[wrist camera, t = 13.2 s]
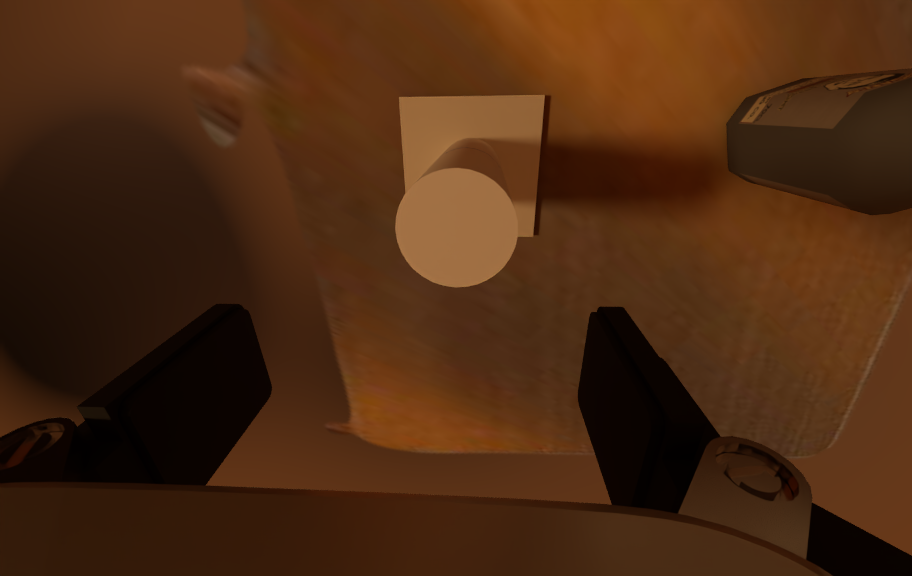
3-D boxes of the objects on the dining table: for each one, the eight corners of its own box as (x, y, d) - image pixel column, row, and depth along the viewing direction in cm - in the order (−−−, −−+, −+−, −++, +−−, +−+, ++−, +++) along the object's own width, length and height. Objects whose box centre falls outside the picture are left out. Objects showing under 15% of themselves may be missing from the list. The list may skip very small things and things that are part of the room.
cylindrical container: (480, 124, 42) (477, 140, 19) (510, 180, 44) (539, 251, 22) (428, 159, 44) (370, 211, 21) (460, 211, 46) (438, 305, 24)
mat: (543, 95, 41) (544, 95, 40) (532, 234, 48) (533, 236, 47) (400, 97, 42) (399, 97, 41) (409, 233, 49) (408, 235, 48)
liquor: (811, 159, 42) (1398, 249, 15) (724, 185, 44) (1112, 306, 17) (816, 72, 39) (1595, -14, 12) (721, 104, 40) (1206, 94, 13)
